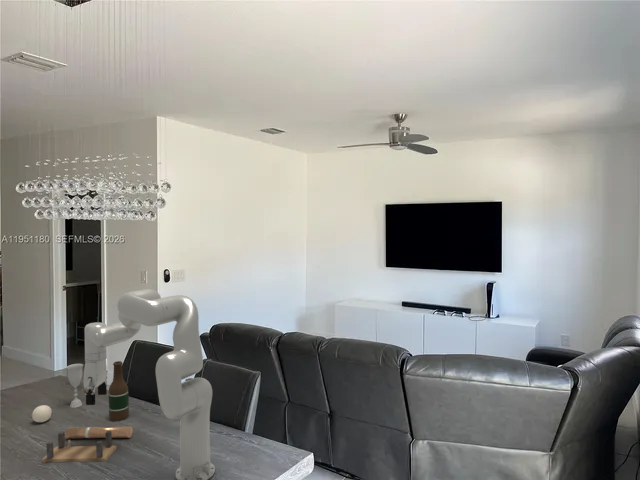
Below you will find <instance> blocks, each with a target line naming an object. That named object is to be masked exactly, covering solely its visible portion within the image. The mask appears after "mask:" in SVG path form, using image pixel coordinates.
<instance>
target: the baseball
mask: <svg viewBox="0 0 640 480" xmlns="http://www.w3.org/2000/svg"><path fill="white" fill-rule="evenodd" d="M52 411H53V410H52V408H51V407H50V406H48V405H46V404H45V405H44V404H43V405H38V406H37V407H35V408H34V410H33V411H32V413H31V417H32V420H33V421H34V422H36V423H45V422H47V421H49V419H50V418H51V416H52Z"/></svg>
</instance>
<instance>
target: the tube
mask: <svg viewBox="0 0 640 480" xmlns="http://www.w3.org/2000/svg"><path fill="white" fill-rule="evenodd" d="M133 430H134V428H133V426H81V427H80V426H76V427H75V426H73V427H71V426H68V427H67V428H66V430H65V431H64V435H65V439H66V440H67V439H68V440H71V439H106V435H105V433H106V432H107V431H111V437H112V439H118V438H119V439H126V438H127V439H128V438H129V439H130V438H132V436H133Z"/></svg>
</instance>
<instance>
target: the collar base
mask: <svg viewBox="0 0 640 480" xmlns="http://www.w3.org/2000/svg"><path fill="white" fill-rule="evenodd" d="M105 435H106V438H105V445H103V440H98V441H96V442H95V445H84V446H83V445H75V446H71V439H68V440H67V446H66V442H65V441H66V440H65V439H66V437H65V431H60V432H58V433H57V442H58V445H57V446H54V441H48V442H46V445H45V446H46V455H45V456H44V457H43V458H41V463H57V462H58V463H71V462H72V463H73V462H74V463H76V462H79V463H80V462H107V460H109V458H110V457H111V456H112V454H114V452H115V451H116V449H117V445H112V443H113V440H112V439H113V438H112V437H111V431H107V432H106V433H105Z"/></svg>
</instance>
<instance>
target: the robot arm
mask: <svg viewBox="0 0 640 480" xmlns="http://www.w3.org/2000/svg"><path fill="white" fill-rule="evenodd" d="M117 300H118V301H117V305H116V306H117V311H118V315H117V316H118V320H119V322H115V323H111V324H108V325H106V324H105V323H104V322H90V323H88V324H86V325H85V326H84V363H85V364H84V369H83V370H84V371H83V390H84V394H85V405H86V406H95V404H96V393H95V392H96V388H97V395H98V396H100V395H101V396H103V395H104V396H106V395H107V394H108V393H107V386H108V385H107V383H108V381H107V379H108V371H109V370H107V369H108V367H107V359H108V353H107V352H108V350H107V349H108V347H111V346H113V345H117V344H120V343H124V342H127V341H129V340H131V339H132V338H133V337H134V336H135V335H137V334H138V333H139V332H140V330H141V327H142V325H143V326H146V327H157V326H160V325H164V324H168V323H172V322H176V324H175V326H174V328H173V331H172V341H173V343H172V344H173V350H171V351H169V352H166V353H164V354H162V355H161V356H160V357H159V358H158V360H157V362H156V363H155V364H156V365H155V370H154V371H155V372H154V373H155V380H156V387H157V394H158V400H159V405H160V409H161V411H162V414H163V416H164V417H165V418H167V419H169V420H177V419H180V420H179V459H180V460H179V462H180V464H179V465H180V466H178V468H177V469H176V471H175V479H176V480H209V479H211V478H212V477H213V475H214V474H215V472H216V467H215V464H213V463H212V462H211V439H210V438H211V436H210V435H211V432H210V431H211V430H210V429H211V425H210V424H211V422H210V420H211V417H210V416H211V406H212V400H213V387H212V384H211V383H210V381H209V380H207V379H206V378H204V377H193V379H190V380H188V381H185V380H186V379H188V378H190V377H192V376H194V375H196V374H198V373H199V372H201V371H202V369H203V367H204V358H203V357H204V356H203V351H202V349H203V348H202V343H201V342H202V341H201V337H200V331H199V330H200V329H199V322H200V320H199V319H200V318H199V310H198V307H197V304H196V303H195V302H194V300H193V299H191V297H189V296H187V295H182V294H181V295H178V294H177V295H169V296H166V297H161V294H160V293H159V292H158V291H157V290H155V289H150V288H147V289H146V288H145V289H139V290H133V291H127V292H125V293H124V294H123V293H122V294H121V296H120V297H119V299H117ZM184 379H185V380H184ZM182 380H184V381H183V382H182Z"/></svg>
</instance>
